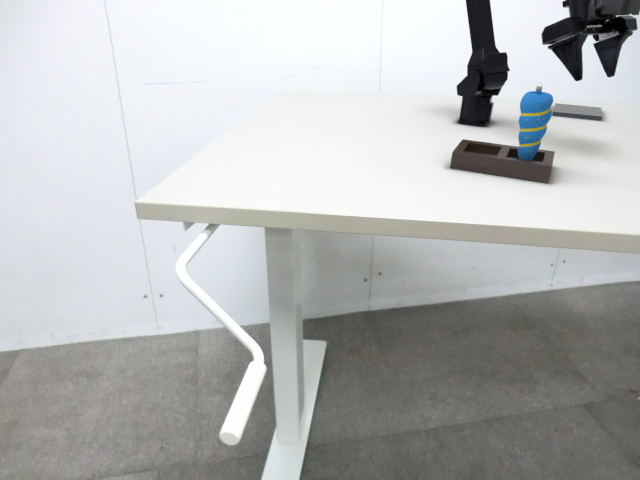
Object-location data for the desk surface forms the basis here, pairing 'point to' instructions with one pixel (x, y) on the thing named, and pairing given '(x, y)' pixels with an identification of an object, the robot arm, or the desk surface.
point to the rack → (501, 161)
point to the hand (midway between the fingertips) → (595, 78)
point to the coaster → (577, 111)
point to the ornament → (533, 121)
